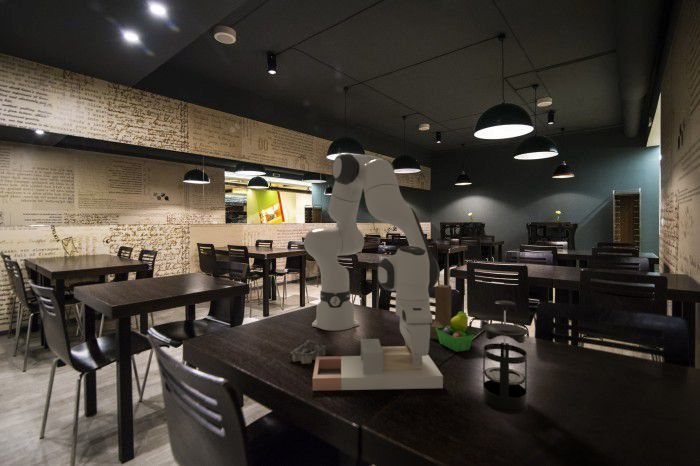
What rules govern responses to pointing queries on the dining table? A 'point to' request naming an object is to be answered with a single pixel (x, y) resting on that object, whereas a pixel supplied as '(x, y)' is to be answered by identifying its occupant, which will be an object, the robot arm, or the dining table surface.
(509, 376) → the french press
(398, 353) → the maple bar
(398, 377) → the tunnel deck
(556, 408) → the dining table surface
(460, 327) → the fruit basket
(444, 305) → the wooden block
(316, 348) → the egg carton
